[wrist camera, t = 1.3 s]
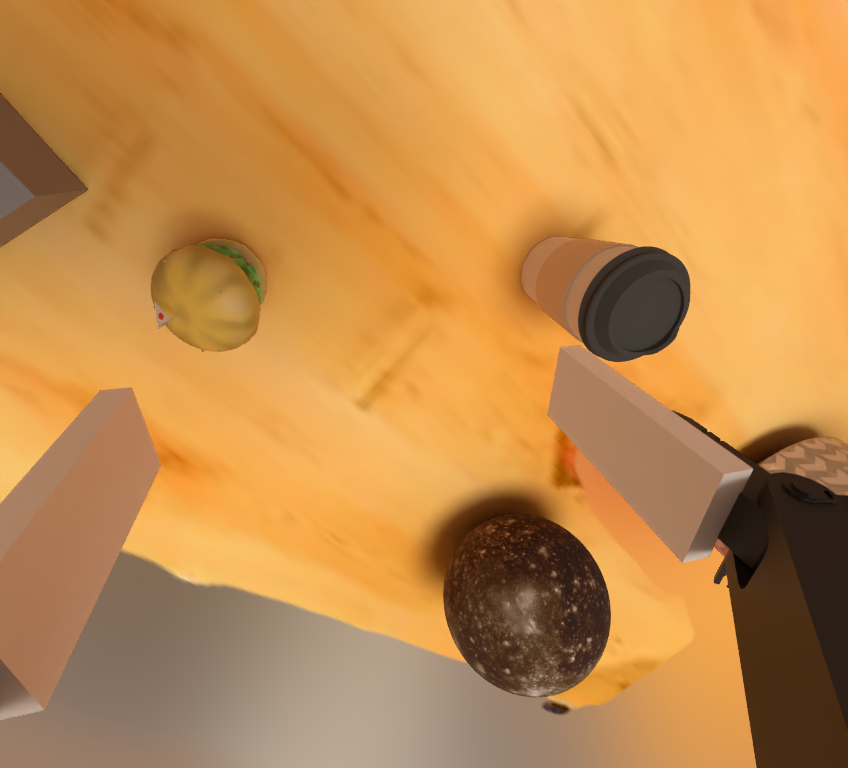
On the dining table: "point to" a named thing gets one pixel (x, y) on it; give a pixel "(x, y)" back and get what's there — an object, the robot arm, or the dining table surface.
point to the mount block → (29, 176)
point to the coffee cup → (609, 294)
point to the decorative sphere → (527, 605)
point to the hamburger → (210, 294)
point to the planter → (810, 465)
